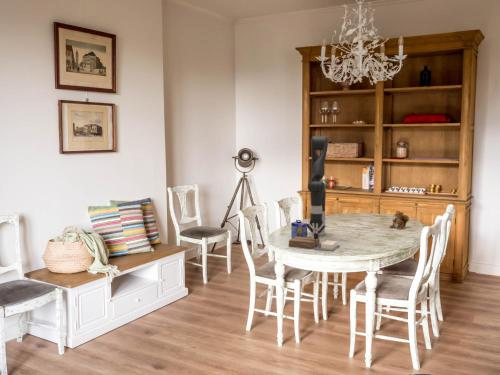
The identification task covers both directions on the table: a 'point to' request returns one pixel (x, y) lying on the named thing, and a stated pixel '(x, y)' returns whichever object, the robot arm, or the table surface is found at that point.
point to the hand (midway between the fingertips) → (316, 239)
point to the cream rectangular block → (329, 245)
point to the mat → (324, 249)
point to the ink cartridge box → (298, 229)
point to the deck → (304, 242)
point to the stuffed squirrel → (399, 220)
